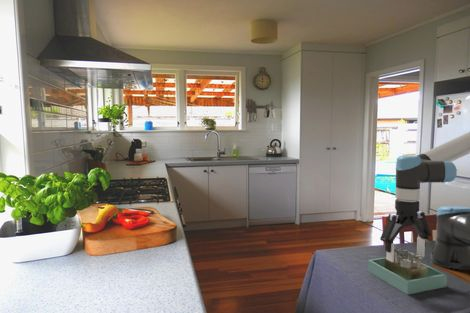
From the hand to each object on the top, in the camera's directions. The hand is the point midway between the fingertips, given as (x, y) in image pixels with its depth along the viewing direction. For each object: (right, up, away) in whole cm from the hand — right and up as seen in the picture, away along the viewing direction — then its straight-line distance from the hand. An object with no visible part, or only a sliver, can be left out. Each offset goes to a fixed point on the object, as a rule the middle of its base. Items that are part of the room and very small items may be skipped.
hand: (405, 258), depth 113 cm
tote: (0, -8, +1) cm, 8 cm away
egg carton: (0, -2, 0) cm, 2 cm away
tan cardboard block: (0, -7, +1) cm, 7 cm away
